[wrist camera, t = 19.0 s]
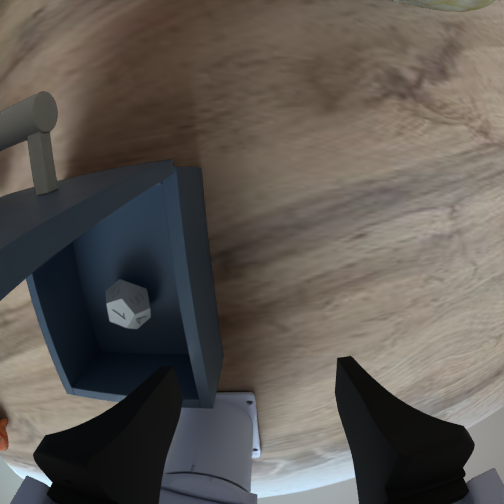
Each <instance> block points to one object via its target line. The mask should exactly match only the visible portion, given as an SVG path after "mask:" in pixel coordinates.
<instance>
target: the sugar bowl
mask: <svg viewBox="0 0 504 504" xmlns="http://www.w3.org/2000/svg"><path fill="white" fill-rule="evenodd" d="M393 1H399V2H404V3H407V4H411V5H414V6H418V7H422V8H428V9H434V10H441V11H456V12H464V11H472V10H477V9H481V8H483V7H486V6H488V5H490V4H491V3H493V2H494V1H495V0H393Z"/></svg>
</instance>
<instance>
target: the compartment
mask: <svg viewBox="0 0 504 504" xmlns="http://www.w3.org/2000/svg"><path fill="white" fill-rule="evenodd" d="M174 170H175V173H174V174H172V175H171V176H169V177H167V178H166V179H164V180H163V181H161V182H159V183H158V184H156V185H154V186H153V187H151V188H150V189H148V190H146V191H145V192H143V193H142V194H140V195H139V196H137V197H136V198H134V199H133V200H131V201H129V202H128V203H126V204H125V205H123V206H122V207H120V208H119V209H117V210H116V211H114V212H113V213H112V214H110V215H109V216H107V217H106V218H104V219H103V220H101V221H100V222H99V223H97V224H96V225H94V226H93V227H92V228H90V229H89V230H87V231H86V232H85V233H83V234H82V235H81V236H79V237H78V238H76V239H75V240H74V241H72V242H71V243H70V244H68V245H67V246H66V247H64V248H63V249H62V250H61V251H59V252H58V253H57V254H55V255H54V256H53V257H52V258H50V259H49V260H48V261H47V262H45V263H44V264H43V265H42V266H40V267H39V268H38V269H37V270H35V271H34V272H33V273H32V274H31V275H29V276H28V277H27V278H26V281H27V285H28V288H29V292H30V296H31V299H32V302H33V306H34V309H35V312H36V316H37V319H38V322H39V325H40V328H41V331H42V333H43V336H44V339H45V342H46V345H47V347H48V350H49V352H50V355H51V358H52V360H53V363H54V365H55V367H56V370H57V372H58V374H59V377H60V379H61V381H62V384H63V386H64V388H65V390H66V392H67V394H71V395H76V396H82V397H88V398H94V399H100V400H107V401H114V402H120V401H121V400H123V399H124V398H125V397H126V396H128V395H129V394H130V393H131V392H133V391H134V390H135V389H136V388H137V387H138V386H139V385H141V384H142V383H143V382H144V381H145V380H146V379H147V378H148V377H149V376H150V375H151V374H153V373H154V372H155V371H156V370H157V369H158V368H159V367H160V366H173V367H174V371H175V374H176V378H177V381H178V384H179V388H180V391H181V394H182V398H183V402H182V408H205V409H213V407H214V402H215V397H216V392H217V387H218V382H219V377H220V372H221V367H222V361H223V357H224V356H223V349H222V342H221V335H220V328H219V321H218V314H217V306H216V299H215V291H214V283H213V275H212V267H211V258H210V250H209V241H208V232H207V222H206V213H205V203H204V193H203V182H202V171H201V168H200V167H181V166H174ZM119 279H121V280H124V281H127V282H129V283H132V284H135V285H138V286H140V287H143V288H146V289H147V292H148V298H149V304H150V313H151V318H149V319H148V320H147V321H146V322H145V323H144V324H142V325H141V326H140V327H139V328H138V329H130V328H125V327H123V326H120V325H118V324H115V323H113V322H110V320H109V315H108V310H107V304H106V290H107V289H108V288H109V287H111V286H112V285H113V284H114V283H115V282H117V281H118V280H119Z"/></svg>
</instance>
